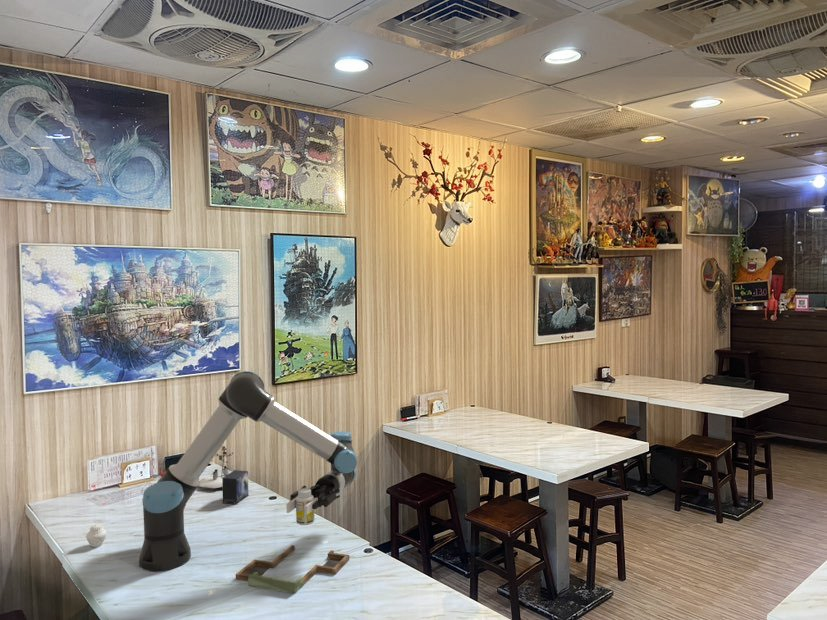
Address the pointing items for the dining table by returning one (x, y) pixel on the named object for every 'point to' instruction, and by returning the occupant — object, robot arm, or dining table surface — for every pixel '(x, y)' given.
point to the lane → (260, 567)
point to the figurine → (216, 474)
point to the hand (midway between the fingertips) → (296, 509)
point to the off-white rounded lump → (96, 536)
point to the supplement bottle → (301, 502)
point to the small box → (235, 487)
